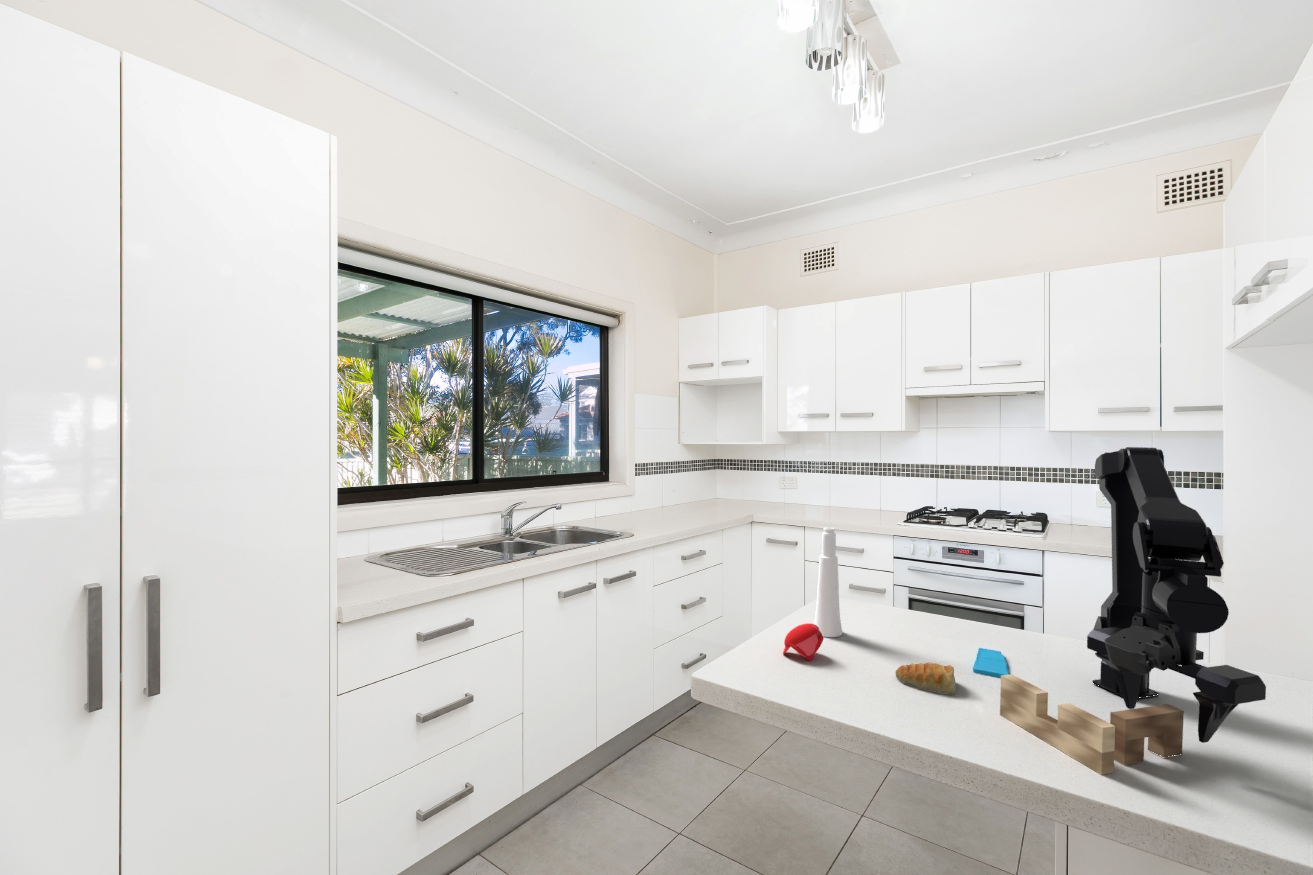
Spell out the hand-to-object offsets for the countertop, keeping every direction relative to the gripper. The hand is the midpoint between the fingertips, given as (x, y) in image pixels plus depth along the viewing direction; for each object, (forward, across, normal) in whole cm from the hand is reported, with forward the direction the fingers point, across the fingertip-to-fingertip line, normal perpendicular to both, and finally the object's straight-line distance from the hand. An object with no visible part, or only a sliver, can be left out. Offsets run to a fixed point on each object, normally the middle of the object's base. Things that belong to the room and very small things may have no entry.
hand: (1165, 724), depth 82 cm
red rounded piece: (+4, -42, -31) cm, 52 cm away
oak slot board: (+4, -6, -12) cm, 14 cm away
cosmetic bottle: (+4, -52, -20) cm, 56 cm away
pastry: (+4, -26, -16) cm, 31 cm away
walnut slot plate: (+4, 0, -3) cm, 5 cm away
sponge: (+4, -30, 0) cm, 30 cm away
